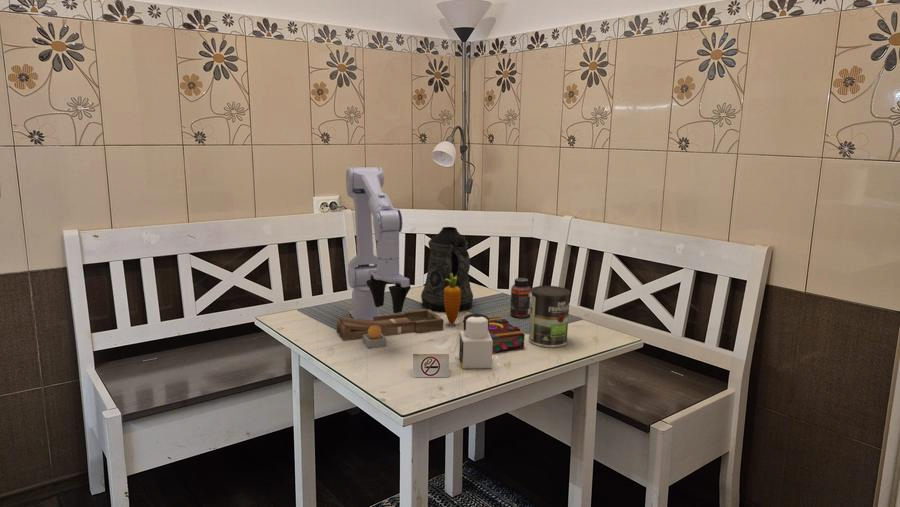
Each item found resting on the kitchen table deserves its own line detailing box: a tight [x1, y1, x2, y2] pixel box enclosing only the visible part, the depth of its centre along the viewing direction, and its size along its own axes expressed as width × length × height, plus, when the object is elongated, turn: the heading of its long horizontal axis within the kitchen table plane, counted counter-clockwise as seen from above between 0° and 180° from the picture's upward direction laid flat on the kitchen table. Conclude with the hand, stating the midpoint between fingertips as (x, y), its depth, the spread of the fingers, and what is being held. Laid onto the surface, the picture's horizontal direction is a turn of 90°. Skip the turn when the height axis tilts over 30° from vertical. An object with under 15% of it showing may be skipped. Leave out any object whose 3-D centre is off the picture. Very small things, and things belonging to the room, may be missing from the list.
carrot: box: [444, 273, 461, 326], centre depth 173 cm, size 5×5×15 cm
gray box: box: [362, 333, 388, 349], centre depth 158 cm, size 5×5×2 cm
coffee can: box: [528, 285, 571, 348], centre depth 162 cm, size 10×10×14 cm
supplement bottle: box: [510, 277, 532, 319], centre depth 183 cm, size 6×6×11 cm
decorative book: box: [462, 316, 525, 355], centre depth 161 cm, size 11×16×5 cm
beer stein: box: [420, 226, 474, 314], centre depth 190 cm, size 16×19×25 cm
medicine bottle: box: [458, 312, 493, 370], centre depth 146 cm, size 7×7×12 cm
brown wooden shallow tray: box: [336, 309, 444, 341], centre depth 169 cm, size 10×28×4 cm, turn 113°
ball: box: [368, 325, 381, 339], centre depth 158 cm, size 4×4×4 cm
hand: (388, 309), depth 156 cm, fingers open, 7 cm apart
